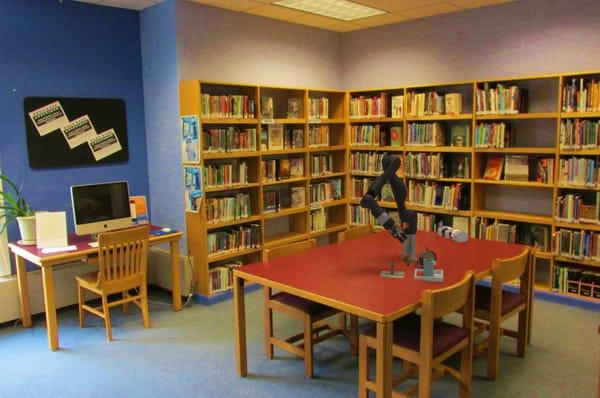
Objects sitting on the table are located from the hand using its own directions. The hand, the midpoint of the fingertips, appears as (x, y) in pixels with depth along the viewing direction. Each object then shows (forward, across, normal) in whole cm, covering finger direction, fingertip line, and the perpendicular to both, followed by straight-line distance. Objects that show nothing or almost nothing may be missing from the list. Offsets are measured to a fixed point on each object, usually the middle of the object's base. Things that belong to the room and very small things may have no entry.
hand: (405, 240), depth 296 cm
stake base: (+10, -6, +20) cm, 23 cm away
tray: (+25, -2, +5) cm, 26 cm away
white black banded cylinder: (+26, +105, +7) cm, 109 cm away
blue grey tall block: (+24, -2, +4) cm, 25 cm away
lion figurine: (+15, +15, +15) cm, 27 cm away
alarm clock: (+22, +17, +8) cm, 29 cm away
